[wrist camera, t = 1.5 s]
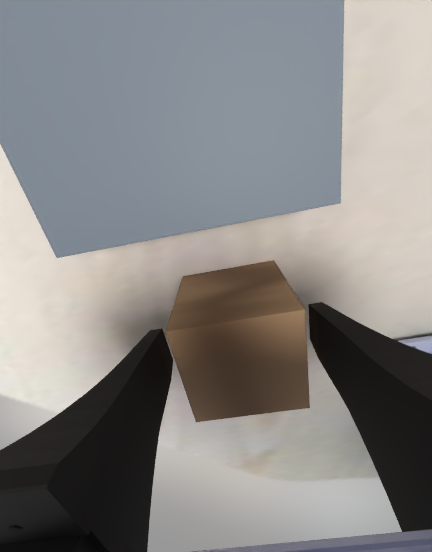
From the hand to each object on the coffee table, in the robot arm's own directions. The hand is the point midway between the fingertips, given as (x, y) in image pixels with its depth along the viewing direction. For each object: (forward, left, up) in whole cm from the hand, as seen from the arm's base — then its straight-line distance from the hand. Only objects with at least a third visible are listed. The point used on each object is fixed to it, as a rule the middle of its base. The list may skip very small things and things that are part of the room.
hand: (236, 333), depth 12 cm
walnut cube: (0, 0, -3) cm, 3 cm away
